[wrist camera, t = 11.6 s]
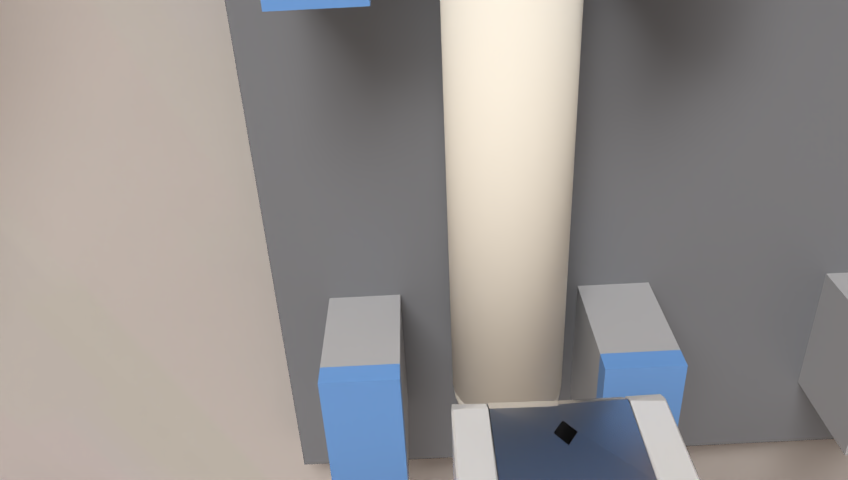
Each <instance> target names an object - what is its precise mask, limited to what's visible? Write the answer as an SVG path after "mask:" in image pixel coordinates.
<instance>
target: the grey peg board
mask: <svg viewBox="0 0 848 480" xmlns="http://www.w3.org/2000/svg"><path fill="white" fill-rule="evenodd" d="M225 5H226V11H227V16H228V22H229V28H230V34H231V40H232V45H233V51H234V57H235V63H236V69H237V75H238V80H239V86H240V92H241V98H242V104H243V109H244V115H245V121H246V127H247V133H248V138H249V144H250V150H251V156H252V162H253V167H254V173H255V179H256V185H257V191H258V197H259V202H260V208H261V214H262V220H263V226H264V231H265V237H266V243H267V249H268V255H269V260H270V266H271V272H272V278H273V284H274V289H275V295H276V301H277V307H278V313H279V319H280V324H281V330H282V336H283V342H284V348H285V353H286V359H287V365H288V371H289V377H290V382H291V388H292V394H293V400H294V406H295V411H296V417H297V423H298V429H299V435H300V441H301V446H302V452H303V458H304V464H325V463H330V470H331V477H332V480H409V459H428V458H448V457H453V450H452V420H451V407H452V404H458V401H457V399H456V396H455V392H454V386H453V370H452V340H451V311H450V281H449V252H448V222H447V193H446V163H445V134H444V104H443V75H442V46H441V16H440V0H225ZM653 394H661V395H662V396H663V397H664V398H666V401H667V403H668V405H669V408H670V410H671V412H672V415H673V417H674V419H675V422H676V424H677V427H678V429H679V431H680V434H681V436H682V438H683V441H684V443H685V445H686V446H695V445H715V444H736V443H756V442H777V441H798V440H818V439H835V441H836V442H837V444H838V446H839V447H840V449H841V450H842V452H843V453H844V455H848V0H584V2H583V20H582V37H581V54H580V71H579V88H578V105H577V122H576V140H575V157H574V174H573V191H572V208H571V225H570V242H569V260H568V277H567V294H566V311H565V328H564V345H563V363H562V380H561V389H560V394H559V399H558V401H559V400H576V399H594V398H611V397H624V398H625V397H626V396H637V395H653Z"/></svg>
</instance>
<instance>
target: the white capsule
mask: <svg viewBox="0 0 848 480" xmlns="http://www.w3.org/2000/svg"><path fill="white" fill-rule="evenodd" d="M583 2H584V0H440V16H441V46H442V75H443V104H444V134H445V163H446V193H447V222H448V252H449V281H450V311H451V340H452V370H453V386H454V392H455V396H456V399H457V401H458V404H486V405H487V403H495V402H533V401H558V399H559V394H560V389H561V380H562V363H563V345H564V328H565V311H566V294H567V277H568V260H569V242H570V225H571V208H572V191H573V174H574V157H575V140H576V122H577V105H578V88H579V71H580V54H581V37H582V20H583Z"/></svg>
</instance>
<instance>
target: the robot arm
mask: <svg viewBox="0 0 848 480" xmlns="http://www.w3.org/2000/svg"><path fill="white" fill-rule="evenodd" d="M451 420H452V450H453V478H454V480H700V478H699V476H698V474H697V471H696V469H695V467H694V464H693V462H692V460H691V457H690V455H689V452H688V450H687V448H686V445H685V443H684V441H683V438H682V436H681V434H680V431H679V429H678V427H677V424H676V422H675V419H674V417H673V415H672V412H671V410H670V408H669V405H668V403H667V401H666V398H664V397H663V396H662V395H661V394H653V395H637V396H626V397H625V398H624V397H611V398H594V399H576V400H559V401H533V402H495V403H487V405H486V404H452V407H451Z"/></svg>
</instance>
